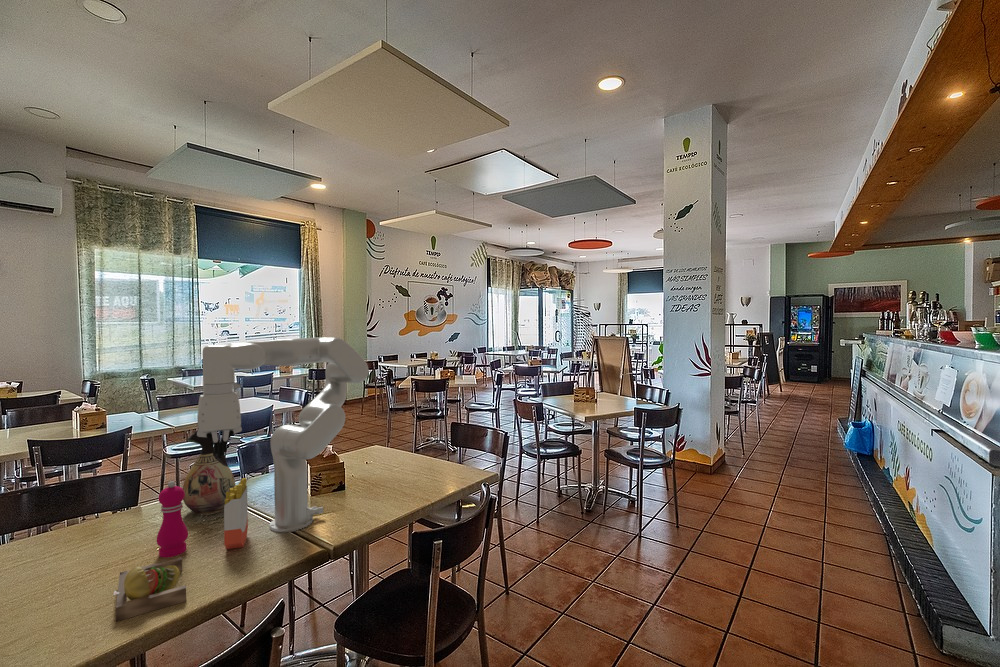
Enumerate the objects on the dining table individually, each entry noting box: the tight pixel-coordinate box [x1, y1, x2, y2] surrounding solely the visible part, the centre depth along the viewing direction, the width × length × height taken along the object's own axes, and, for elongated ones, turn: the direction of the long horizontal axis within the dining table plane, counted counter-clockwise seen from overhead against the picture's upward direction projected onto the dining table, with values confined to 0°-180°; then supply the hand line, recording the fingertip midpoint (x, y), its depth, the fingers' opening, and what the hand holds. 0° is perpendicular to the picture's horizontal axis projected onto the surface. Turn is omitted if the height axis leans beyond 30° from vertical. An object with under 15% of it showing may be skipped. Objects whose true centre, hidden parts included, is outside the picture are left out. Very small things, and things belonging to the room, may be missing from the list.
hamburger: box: [113, 566, 181, 601], centre depth 108 cm, size 8×7×12 cm
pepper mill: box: [156, 480, 189, 559], centre depth 131 cm, size 7×7×20 cm
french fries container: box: [223, 477, 249, 550], centre depth 136 cm, size 5×11×18 cm, turn 19°
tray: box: [115, 556, 187, 622], centre depth 112 cm, size 12×18×3 cm
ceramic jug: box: [182, 429, 237, 516], centre depth 160 cm, size 17×15×30 cm
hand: (220, 455), depth 131 cm, fingers closed
